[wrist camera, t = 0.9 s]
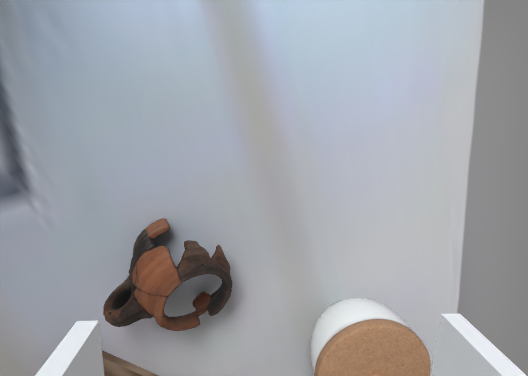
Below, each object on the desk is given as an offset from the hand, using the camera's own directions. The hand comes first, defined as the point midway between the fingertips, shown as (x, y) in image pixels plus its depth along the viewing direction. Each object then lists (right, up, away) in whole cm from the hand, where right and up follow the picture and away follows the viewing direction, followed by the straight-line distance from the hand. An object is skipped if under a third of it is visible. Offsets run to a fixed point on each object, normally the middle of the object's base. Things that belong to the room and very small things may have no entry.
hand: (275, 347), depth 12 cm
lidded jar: (+9, -9, +25) cm, 28 cm away
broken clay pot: (-10, -2, +22) cm, 24 cm away
